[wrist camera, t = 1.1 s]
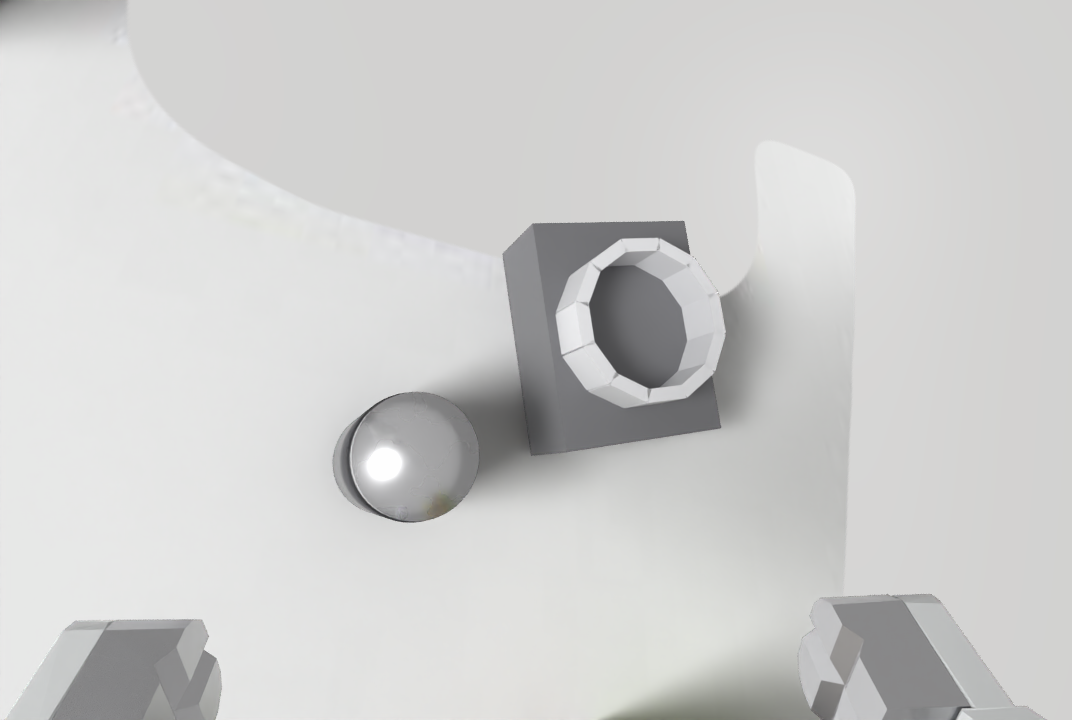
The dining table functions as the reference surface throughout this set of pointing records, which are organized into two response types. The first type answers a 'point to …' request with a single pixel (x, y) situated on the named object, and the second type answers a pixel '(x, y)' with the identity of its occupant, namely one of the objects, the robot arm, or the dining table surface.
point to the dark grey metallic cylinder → (407, 458)
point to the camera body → (612, 333)
